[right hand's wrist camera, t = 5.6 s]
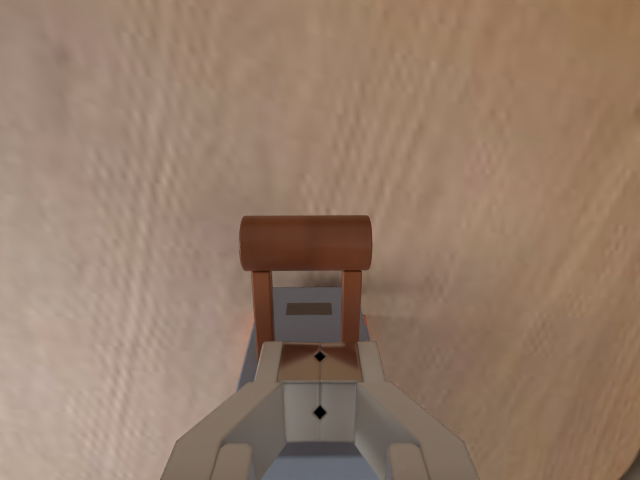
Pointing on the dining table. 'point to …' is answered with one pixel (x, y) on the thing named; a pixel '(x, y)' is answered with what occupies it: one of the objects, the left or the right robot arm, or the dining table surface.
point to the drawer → (307, 315)
